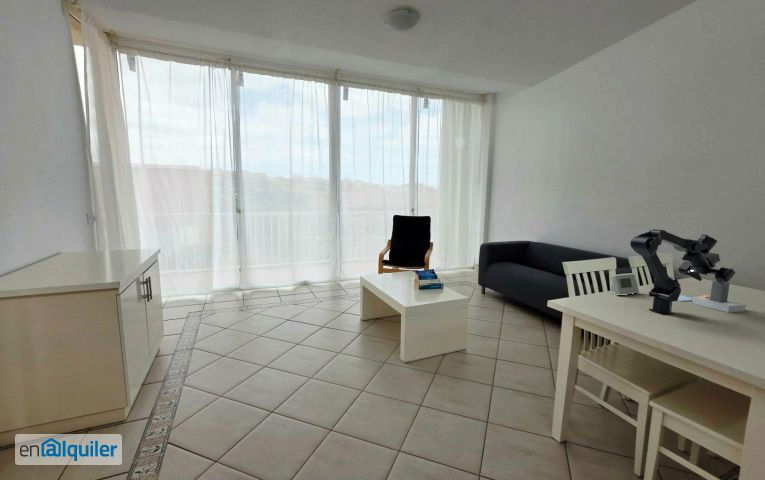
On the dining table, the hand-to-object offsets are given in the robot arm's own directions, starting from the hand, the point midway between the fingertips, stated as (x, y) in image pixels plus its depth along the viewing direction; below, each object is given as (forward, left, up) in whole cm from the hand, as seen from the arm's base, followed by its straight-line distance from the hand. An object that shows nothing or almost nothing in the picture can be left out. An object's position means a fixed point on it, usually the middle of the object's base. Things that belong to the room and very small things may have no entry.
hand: (712, 282), depth 149 cm
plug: (+5, 0, -12) cm, 13 cm away
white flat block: (+5, 0, -12) cm, 13 cm away
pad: (+1, +15, -12) cm, 19 cm away
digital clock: (-19, +26, -12) cm, 34 cm away
